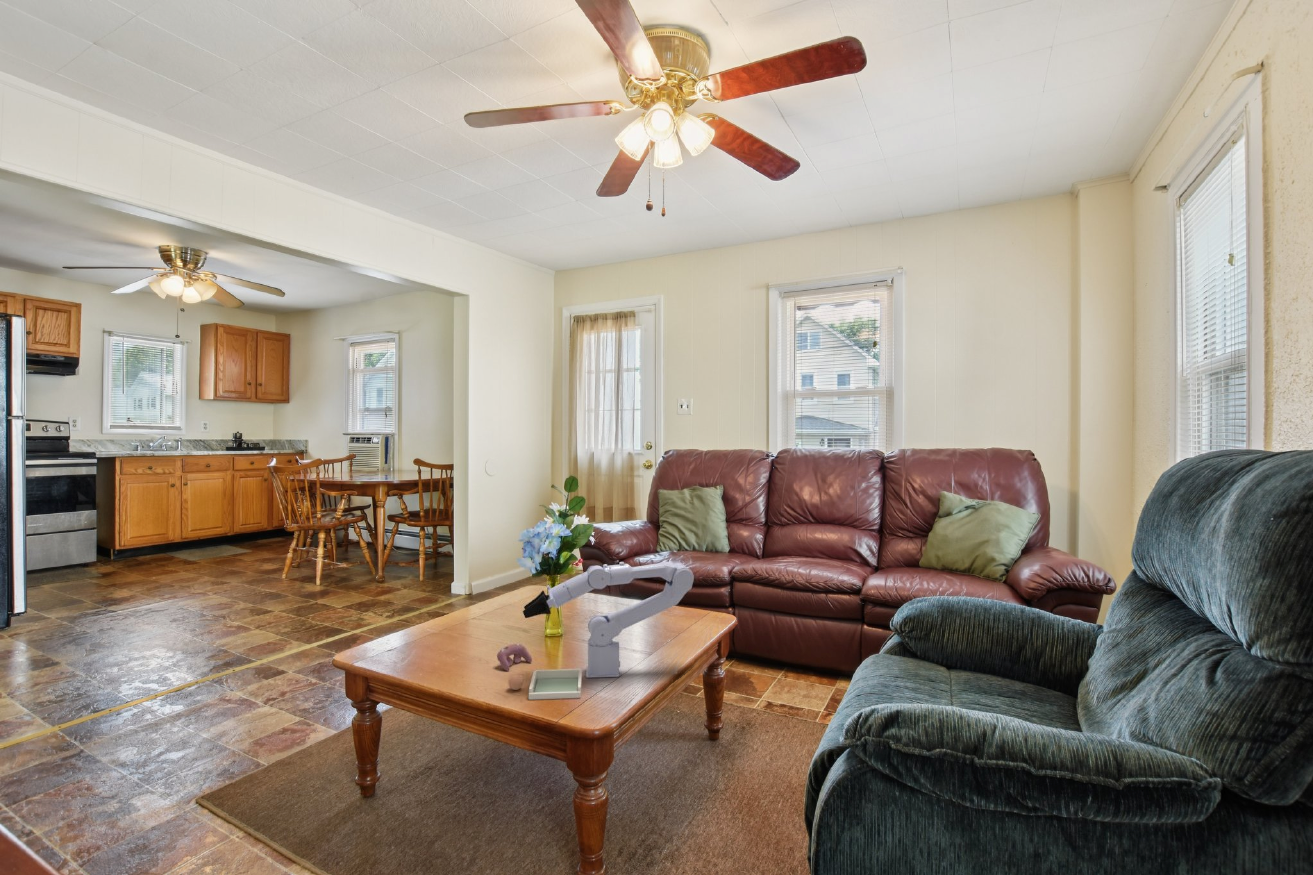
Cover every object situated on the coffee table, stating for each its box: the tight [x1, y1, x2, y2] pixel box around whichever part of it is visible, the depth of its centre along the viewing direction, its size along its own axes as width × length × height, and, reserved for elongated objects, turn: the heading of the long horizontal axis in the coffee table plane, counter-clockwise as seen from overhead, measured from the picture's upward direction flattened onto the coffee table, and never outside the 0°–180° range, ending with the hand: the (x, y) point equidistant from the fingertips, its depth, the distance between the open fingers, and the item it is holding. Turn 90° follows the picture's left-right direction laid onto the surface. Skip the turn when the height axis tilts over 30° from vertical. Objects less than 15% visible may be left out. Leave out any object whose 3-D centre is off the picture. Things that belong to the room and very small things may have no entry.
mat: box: [533, 678, 578, 693], centre depth 168 cm, size 11×11×1 cm
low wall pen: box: [528, 668, 583, 701], centre depth 168 cm, size 14×14×2 cm
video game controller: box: [496, 643, 533, 672], centre depth 184 cm, size 10×5×7 cm, turn 141°
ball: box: [508, 673, 524, 691], centre depth 167 cm, size 4×4×4 cm
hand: (524, 612), depth 174 cm, fingers open, 7 cm apart
